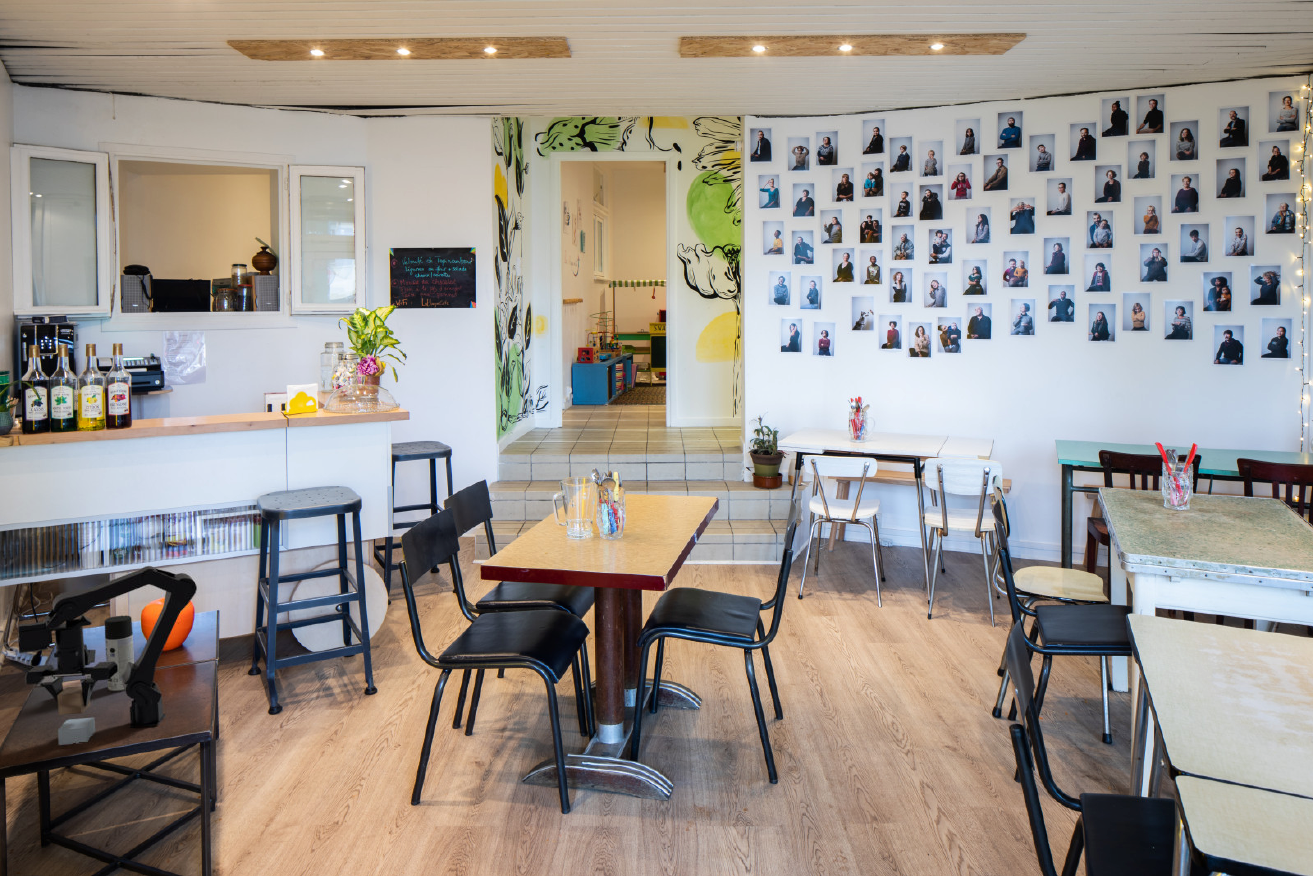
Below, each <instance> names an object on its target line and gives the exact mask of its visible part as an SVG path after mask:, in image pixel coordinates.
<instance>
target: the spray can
mask: <svg viewBox="0 0 1313 876" xmlns="http://www.w3.org/2000/svg"><path fill="white" fill-rule="evenodd" d="M133 634H134V631H133V619H132V616H130V615H127V614H126V615H116V616H111V617H108V618H106V619H105V620H104V640H105V641H104V642H105V659H106V660H105V662H113V661H114V662H115V663H116V664H117V665H118V672H117V673H116V674H114V675H113V676H112V677H111V678H110V679H107V688H108V689H107V690H108V691H110V692H115V691H116V692H125V689H124V687H123V679H122V677H121V676H122V675H123V674H124V672H125V671H126V668H127V664H128V662H131V663H133V664H134V663H135V657H134V656H135V655H134V639H133V638H134V637H133Z"/></svg>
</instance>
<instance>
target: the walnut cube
mask: <svg viewBox="0 0 1313 876" xmlns="http://www.w3.org/2000/svg"><path fill="white" fill-rule="evenodd" d="M57 696H58V703H57V706H58V708H57V709H58V716H64V715H66V716H67V715H77V714H78V715H79V714H83V713H84V712H85V711H86V710H87V709H88V708H89V707H90V706H91V699H90V700H89V703H88V705H87V706H84V702H83V694H82V686H81V687H67V688H66V689H64V690H63V691H62V692H61V693H60V694H58V695H57Z"/></svg>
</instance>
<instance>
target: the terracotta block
mask: <svg viewBox="0 0 1313 876" xmlns="http://www.w3.org/2000/svg"><path fill="white" fill-rule="evenodd" d="M67 687H82V684H81V679H78V680H71V681H65V682H64V681H63V690H64V689H66V688H67Z"/></svg>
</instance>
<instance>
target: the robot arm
mask: <svg viewBox="0 0 1313 876" xmlns="http://www.w3.org/2000/svg"><path fill="white" fill-rule="evenodd" d="M147 585H150V586H151V587H155V588H158V589H160V590H163V591H165V594H164V601H163V606H162V609H161V611H160V613H159V615H158V617H157V619H156V622H155V623H154V626H153V628H152V630H151V632H150V635H149V636H148V638H147V641H146V643H145V645H144V647H143V650H142V651H141V653H140V655H139V658H138V659H137V660H136V661H134V664H133V663H131V662H128V664H127V668H126V671H125V672H124V674H123V675H122V676H121V677H122V679H123V687H124V689H125V690H124V692H125V694H126V696H128V697H129V698H130V699H133V700H131V705H130V706H129V719H130V721H129V722H130V723H131V724H129V728H143V727H144V728H146V727H157V726H158V725H159V724H160V723H161V722H162V721H163V720H164V719H165V718H166V716H167V715H166V714H165V713H164V709H163V708H164V707H163V696H162V692H161V690H160V688H159V685H158V684H157V683H156V682H154V678H155V675H156V674H155V672H156V669H157V668H156V666H157V663H158V661H159V659H160V656H161V655H162V652H163V650H164V648H165V646H166V644H167V641H168V639H169V637H170V635H171V633H172V631H173V628H174V627H175V624H176V622H177V620H178V618H179V615H180V614H181V612H182V611H183V610H184V609H185V608H186V607H187V606H188V605H189V604H190V602H191V600H192V599H193V598H194V596H195V595H196V593H197V590H198V589H197V588H198V586H197V583H196V582H195V581H194V580H193V578H192V577H191V576H190V575H189V574H187V573H184V572H183V573H182V572H181V573H179V572H178V573H173V572H170V571H167V570H164V569H159V568H155V567H154V566H152V565H147V566H144V567H142V568H141V569H138V570H135V571H133V572H129V573H128V574H124V575H122V576H120V577H117V578H114V579H112V580H109V581H107V582H103V583H101V584H98V585H96V586H93V587H88V588H82V589H75V590H70V591H65V592H62V593H59V594H58V595H57V596H55V598H54V599H53V601H52V609H51V610H50V611H49V612H48V613H47V615H46V616H45V618H44V620H43V621H39V622H32V623H20V624H18V625H17V628H18V635H17V643H18V654H19V655H21V654H25V653H26V654H27V653H32V652H38V651H44V650H47V649H48V647H51V645H53V634H52V633H53V632H54V637H55V638H54V639H55V650H56V652H54V653H53V658H56V665H57V668H55V667H54V666H53V664H42V665H36V666H34V667H33V668H32V669H30V670H28V671H27V672H26V673H25V675H24V683H25V685H38V684H39V686H40V687H41V688H44V689H46V691H47V692H48V693H49V694H50V695H51V696H52V697H53V699H54V700H55V701H56V703H57V704H58V696H57V695H58V694H60V693H61V692H62V691H63V682H64V678H65V677H81V676H83V677H85V679H83V681H82V682H80V684H81V687H82V694H83V702H84V706H87V705H88V703H89V700H90V701H91V697H92V693H93V690H94V687H95V686H96V683H97V682H98V681H108V679H110V678H111V677H112V676H113V675H114V674H116V673H117V672H118V665H117V664H116V663H115V662H114V661H113V662H106V661H100V662H98V663H97V664H95V666H89V665H90V664H92V663H95V662H96V649H88V646H87V644H85V642H84V627H86V626H91V625H92V623H93V622H92V621H91V619H90V618H89V617H87V616H85V614H86V613H87V612H89V611H91V609H93V608H94V607H96V606H97V605H100V604H102V603H104V602H106V601H110V600H112V599H114V598H117V597H120V596H123V595H124V594H125V595H126V594H127V593H130V592H132V591H135V590H138V589H140V588H143V587H146V586H147ZM87 666H89V667H87ZM162 719H163V720H162Z"/></svg>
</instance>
